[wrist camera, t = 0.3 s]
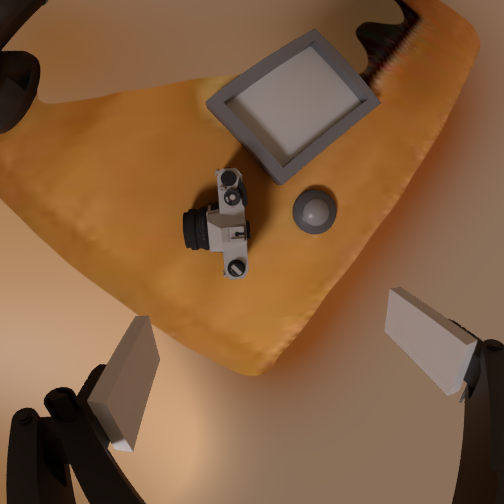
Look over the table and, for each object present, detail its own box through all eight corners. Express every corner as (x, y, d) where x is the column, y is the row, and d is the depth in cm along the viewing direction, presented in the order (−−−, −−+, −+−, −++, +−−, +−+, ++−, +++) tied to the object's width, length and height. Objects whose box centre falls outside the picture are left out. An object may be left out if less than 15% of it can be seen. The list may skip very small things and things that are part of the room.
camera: (180, 173, 35) (166, 177, 26) (240, 165, 35) (244, 166, 27) (195, 266, 39) (188, 295, 30) (250, 259, 39) (257, 287, 31)
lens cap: (283, 209, 37) (285, 210, 36) (315, 180, 37) (319, 180, 35) (310, 241, 39) (313, 243, 37) (340, 213, 38) (345, 215, 37)
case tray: (206, 107, 33) (205, 101, 30) (309, 37, 31) (315, 28, 28) (277, 184, 36) (282, 185, 33) (371, 107, 35) (381, 102, 32)
